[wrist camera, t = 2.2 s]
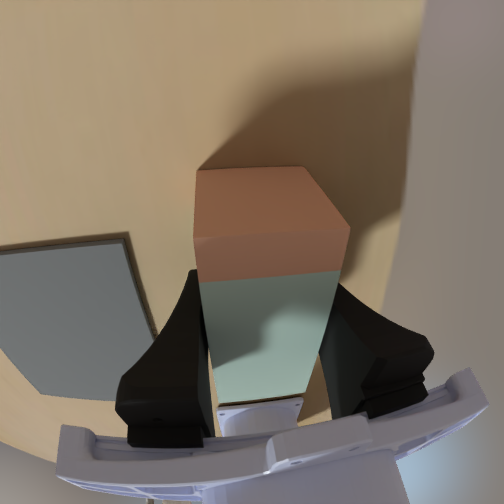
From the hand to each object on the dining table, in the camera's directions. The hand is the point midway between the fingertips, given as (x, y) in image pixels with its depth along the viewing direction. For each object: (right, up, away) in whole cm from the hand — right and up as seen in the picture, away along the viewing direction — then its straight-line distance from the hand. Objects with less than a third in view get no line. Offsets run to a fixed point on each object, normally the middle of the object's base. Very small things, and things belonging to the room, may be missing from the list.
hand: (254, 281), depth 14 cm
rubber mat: (-13, -5, +3) cm, 14 cm away
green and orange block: (0, +1, +1) cm, 1 cm away
